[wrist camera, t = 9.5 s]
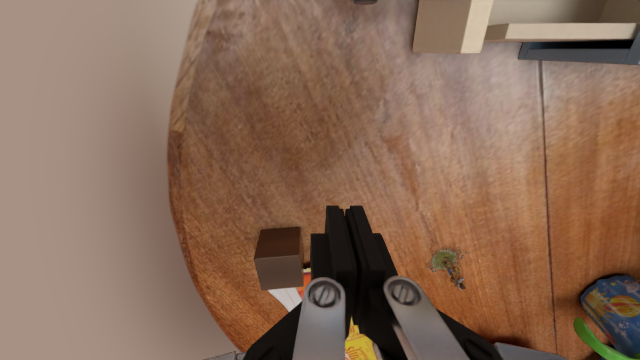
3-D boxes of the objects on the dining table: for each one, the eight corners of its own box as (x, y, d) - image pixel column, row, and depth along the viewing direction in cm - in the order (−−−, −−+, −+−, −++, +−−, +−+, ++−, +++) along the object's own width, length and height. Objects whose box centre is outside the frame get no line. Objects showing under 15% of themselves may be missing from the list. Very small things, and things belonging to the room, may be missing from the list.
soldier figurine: (448, 266, 34) (467, 295, 30) (438, 266, 33) (456, 295, 29) (453, 253, 33) (473, 282, 29) (443, 253, 32) (462, 282, 29)
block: (260, 230, 29) (253, 259, 25) (300, 226, 29) (299, 254, 25) (266, 259, 31) (261, 290, 27) (303, 256, 31) (303, 286, 27)
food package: (398, 378, 41) (340, 394, 42) (394, 363, 43) (338, 378, 44) (340, 264, 29) (261, 291, 30) (338, 250, 31) (264, 275, 32)
